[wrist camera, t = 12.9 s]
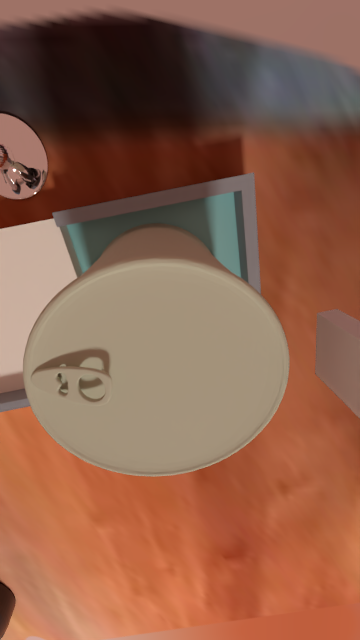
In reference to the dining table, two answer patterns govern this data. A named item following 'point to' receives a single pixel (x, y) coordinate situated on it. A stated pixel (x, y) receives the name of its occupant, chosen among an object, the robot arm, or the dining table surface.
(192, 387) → the can
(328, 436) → the dining table surface
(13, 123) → the wineglass
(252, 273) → the two-tone serving tray
